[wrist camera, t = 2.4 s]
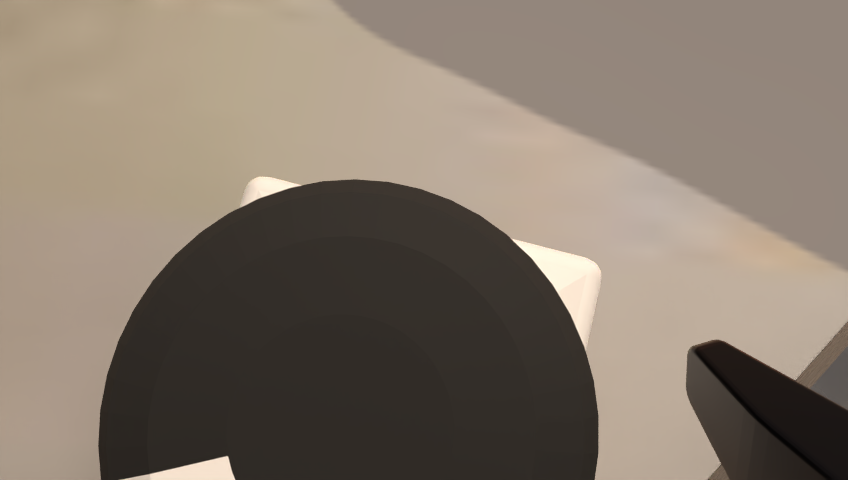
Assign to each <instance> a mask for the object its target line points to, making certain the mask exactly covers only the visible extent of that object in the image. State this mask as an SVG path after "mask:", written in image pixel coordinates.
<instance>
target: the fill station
mask: <svg viewBox="0 0 848 480" xmlns="http://www.w3.org/2000/svg"><path fill="white" fill-rule="evenodd" d="M796 381H797V382H799V383H800V384H802V385H804V386H806V387H808V388H810V389H811V390H813V391H815V392H817V393H819V394H820V395H822V396H824V397H826V398H828V399H829V400H831V401H833V402H835V403H837V404H838V405H840V406H842V407H844V408H846V409H848V322H847V323H846V325H845V326H844V327H843V328H842V329H841V330H840V331H839V332H838V334H837V335H836V336H835V337H834V338H833V339H832V340H831V341H830V343H829V344H828V345H827V346H826V347H825V348H824V349H823V350H822V352H821V353H820V354H819V355H818V356H817V357H816V358H815V360H814V361H813V362H812V363H811V364H810V365H809V366H808V367H807V369H806V370H805V371H804V372H803V373H802V374H801V375H800V376H799V378H798V379H797V380H796ZM708 480H729V478H728V476H727V474H726V472H725V470H724V468H723V466H722V464H721V466H720V467H719V468H718V469H717V470H716V471H715V472H714V473H713V475H712V476H711V477H710V478H709V479H708Z"/></svg>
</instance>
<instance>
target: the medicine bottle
mask: <svg viewBox="0 0 848 480" xmlns="http://www.w3.org/2000/svg"><path fill="white" fill-rule="evenodd" d="M600 285H601V271H600V269H599V267H598V266H597V264H596V263H595V262H593V261H591V260H589V259H587V258H585V257H581V256H577V255H573V254H569V253H565V252H561V251H557V250H554V249H550V248H546V247H542V246H538V245H534V244H530V243H526V242H522V241H518V240H514V239H511V238H510V237H509V236H508V235H506V234H505V233H504V232H502V231H501V230H499V229H498V228H497V227H495V226H494V225H492V224H491V223H490V222H488V221H487V220H485V219H484V218H483V217H481V216H480V215H478V214H476V213H474V212H472V211H470V210H468V209H467V208H465V207H463V206H461V205H459V204H457V203H455V202H453V201H451V200H449V199H446V198H443V197H441V196H438V195H435V194H433V193H430V192H427V191H424V190H422V189H418V188H413V187H409V186H404V185H400V184H395V183H390V182H381V181H368V180H338V181H322V182H317V183H312V184H307V185H298V184H295V183H291V182H287V181H283V180H279V179H275V178H271V177H256V178H255V179H253V180H251V181H250V182H249V183H248V185H247V186H246V188H245V191H244V194H243V197H242V200H241V203H240V207H239V209H237V210H235V211H233V212H231V213H229V214H227V215H226V216H224V217H223V218H221V219H220V220H218V221H217V222H215V223H214V224H212V225H211V226H209V227H208V228H206V229H205V230H203V231H202V232H201V233H200V234H198V235H197V236H196V237H195V238H194V239H193V240H192V241H190V242H189V243H188V244H187V245H186V246H185V247H184V248H183V249H181V250H180V251H179V252H178V253H177V254H176V255H175V256H174V257H173V258H172V259H171V261H170V262H169V263H168V264H167V265H166V266H165V267H164V269H163V270H162V271H161V272H160V273H159V274H158V275H157V277H156V278H155V279H154V280H153V281H152V283H151V284H150V286H149V287H148V289H147V291H146V292H145V294H144V295H143V297H142V298H141V300H140V301H139V303H138V304H137V306H136V307H135V309H134V310H133V312H132V314H131V317H130V319H129V321H128V323H127V325H126V327H125V329H124V331H123V333H122V335H121V337H120V339H119V341H118V344H117V347H116V350H115V353H114V356H113V359H112V362H111V365H110V368H109V371H108V374H107V379H106V384H105V389H104V394H103V399H102V405H101V410H100V427H99V445H98V446H99V459H100V472H101V480H594V479H595V472H596V465H597V458H598V410H597V402H596V395H595V387H594V380H593V377H592V373H591V369H590V366H589V362H588V358H587V355H586V349H587V344H588V340H589V335H590V331H591V326H592V321H593V317H594V312H595V308H596V303H597V299H598V294H599V289H600Z"/></svg>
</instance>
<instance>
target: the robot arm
mask: <svg viewBox="0 0 848 480" xmlns="http://www.w3.org/2000/svg"><path fill="white" fill-rule="evenodd" d="M686 390H687V395H688V398H689V401H690V403H691V405H692V407H693V409H694V411H695V413H696V415H697V417H698V419H699V421H700V423H701V425H702V427H703V429H704V431H705V433H706V435H707V437H708V439H709V441H710V443H711V445H712V447H713V449H714V450H715V452H716V454H717V456H718V458H719V460H720V462H721V464H722V466H723V468H724V470H725V472H726V474H727V476H728V478H729V480H848V409H846V408H844V407H842V406H840V405H838V404H837V403H835V402H833V401H831V400H829V399H828V398H826V397H824V396H822V395H820V394H819V393H817V392H815V391H813V390H811V389H810V388H808V387H806V386H804V385H802V384H800V383H799V382H797V381H795V380H793V379H791V378H790V377H788V376H786V375H784V374H782V373H781V372H779V371H777V370H775V369H773V368H772V367H770V366H768V365H766V364H764V363H762V362H761V361H759V360H757V359H755V358H753V357H752V356H750V355H748V354H746V353H744V352H743V351H741V350H739V349H737V348H735V347H734V346H732V345H730V344H728V343H726V342H724V341H721V340H711V341H708V342H705V343H701V344H698V345H695V346H692V347H691V348H690V349H689V351H688V354H687V374H686Z"/></svg>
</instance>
